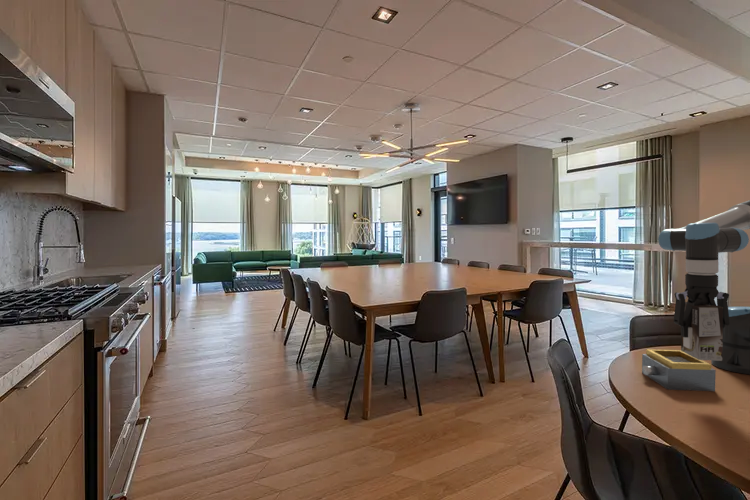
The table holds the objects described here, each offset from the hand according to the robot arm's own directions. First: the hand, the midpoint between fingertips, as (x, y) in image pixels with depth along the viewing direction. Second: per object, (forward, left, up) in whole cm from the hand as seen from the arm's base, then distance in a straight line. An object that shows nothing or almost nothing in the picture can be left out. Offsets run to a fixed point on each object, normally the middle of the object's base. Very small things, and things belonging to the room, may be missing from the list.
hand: (700, 347), depth 113 cm
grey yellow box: (0, -13, -16) cm, 21 cm away
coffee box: (0, 0, -3) cm, 3 cm away
